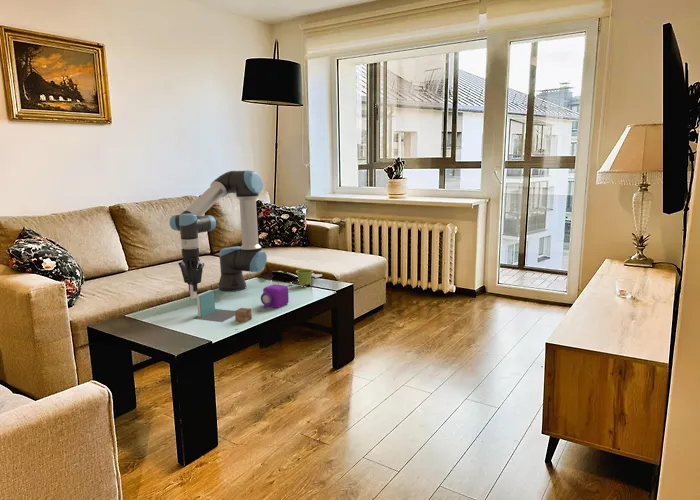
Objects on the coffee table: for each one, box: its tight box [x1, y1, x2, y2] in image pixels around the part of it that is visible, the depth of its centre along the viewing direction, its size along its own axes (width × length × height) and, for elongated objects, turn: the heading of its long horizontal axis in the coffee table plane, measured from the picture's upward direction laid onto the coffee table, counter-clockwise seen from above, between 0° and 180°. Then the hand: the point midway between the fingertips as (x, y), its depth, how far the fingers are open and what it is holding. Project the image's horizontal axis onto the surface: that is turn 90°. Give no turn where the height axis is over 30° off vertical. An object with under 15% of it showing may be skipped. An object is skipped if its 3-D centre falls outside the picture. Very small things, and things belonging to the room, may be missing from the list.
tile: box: [196, 289, 216, 317], centre depth 225 cm, size 10×2×10 cm, turn 159°
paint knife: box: [288, 272, 323, 284], centre depth 291 cm, size 30×14×2 cm, turn 157°
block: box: [234, 307, 253, 324], centre depth 217 cm, size 5×5×5 cm
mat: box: [191, 308, 236, 323], centre depth 224 cm, size 16×16×1 cm
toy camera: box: [260, 283, 290, 309], centre depth 238 cm, size 11×14×10 cm
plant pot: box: [295, 268, 314, 285], centre depth 276 cm, size 9×9×9 cm
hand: (193, 297), depth 227 cm, fingers closed
